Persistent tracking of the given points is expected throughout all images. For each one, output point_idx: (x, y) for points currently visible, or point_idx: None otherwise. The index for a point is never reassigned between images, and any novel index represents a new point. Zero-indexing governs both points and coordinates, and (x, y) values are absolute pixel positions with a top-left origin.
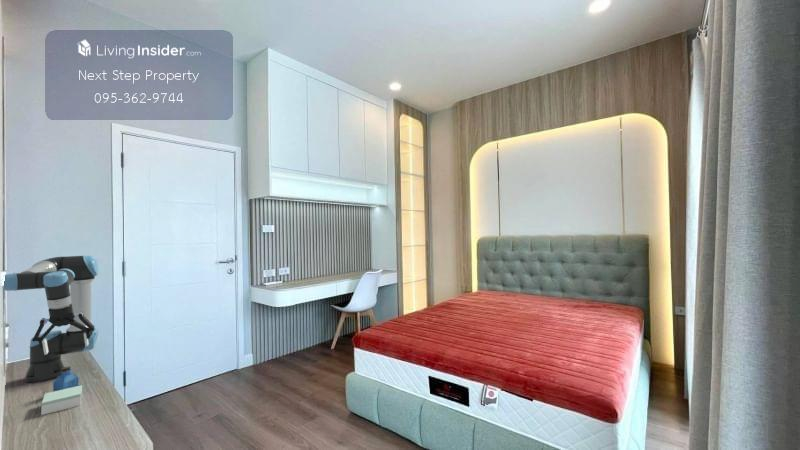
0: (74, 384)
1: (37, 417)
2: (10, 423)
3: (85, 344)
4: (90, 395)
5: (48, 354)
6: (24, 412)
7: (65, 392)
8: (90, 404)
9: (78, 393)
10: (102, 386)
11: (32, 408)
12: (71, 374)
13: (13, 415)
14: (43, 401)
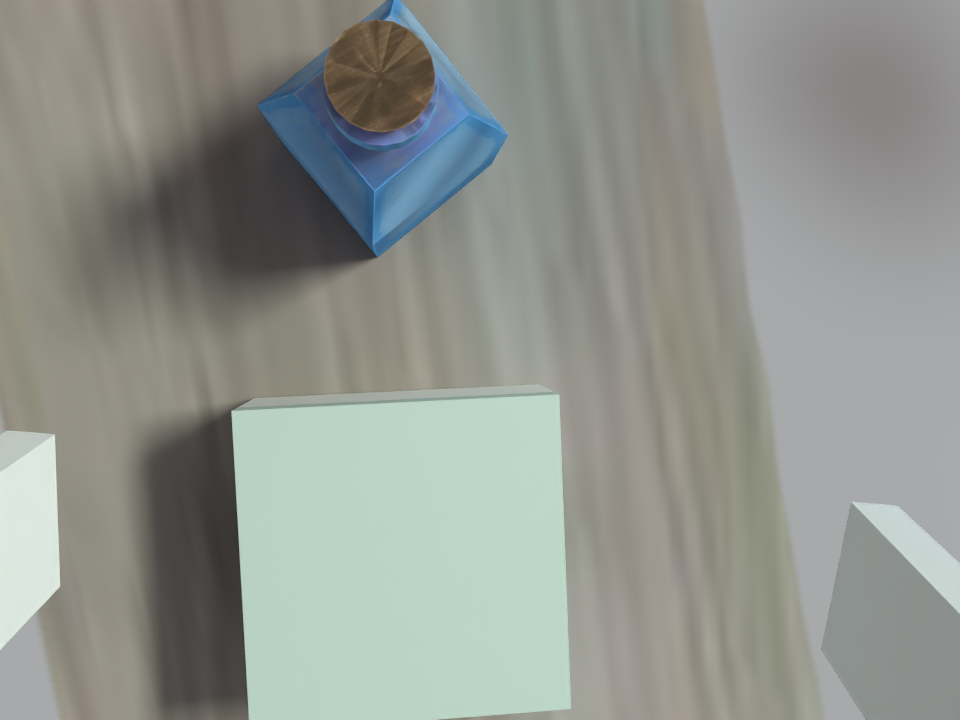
0: (467, 176)
1: None
2: (63, 705)
3: (849, 686)
4: (609, 430)
5: None
6: (117, 489)
7: (424, 539)
8: (625, 697)
9: (549, 676)
10: (698, 218)
11: (163, 423)
12: (443, 137)
13: None
14: (259, 694)
